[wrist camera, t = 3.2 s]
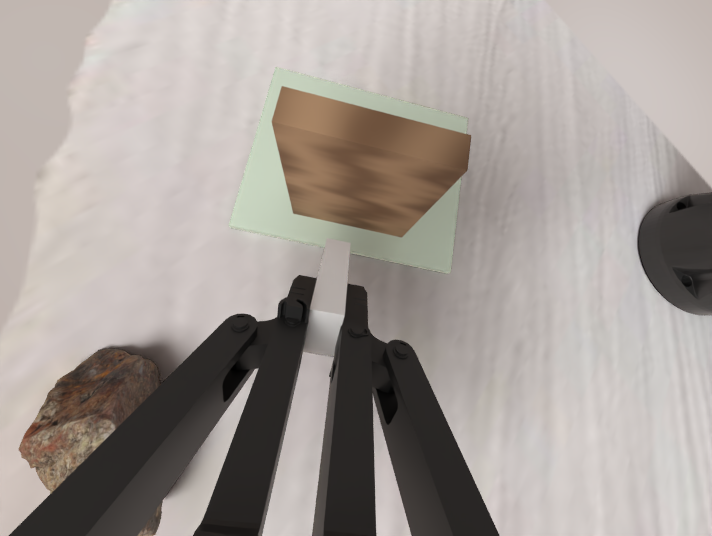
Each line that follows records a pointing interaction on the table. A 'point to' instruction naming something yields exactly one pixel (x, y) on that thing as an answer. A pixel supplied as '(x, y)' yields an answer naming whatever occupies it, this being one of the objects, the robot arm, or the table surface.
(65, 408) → the rock
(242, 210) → the mat
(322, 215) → the board
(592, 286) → the table surface
